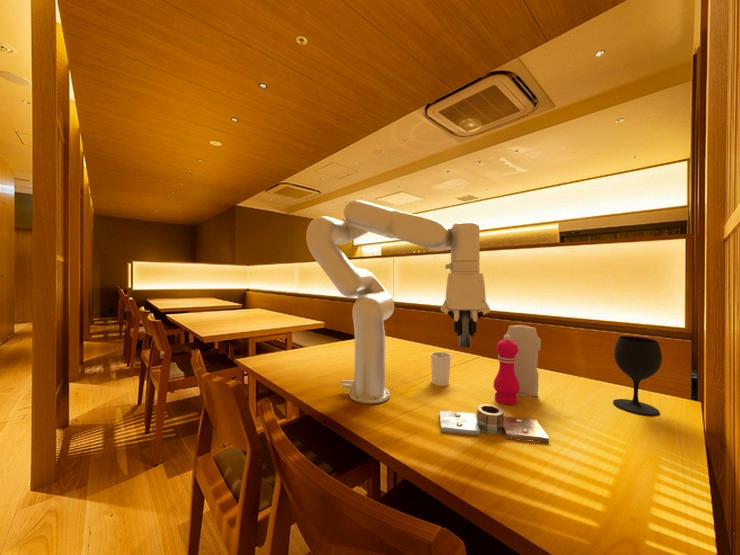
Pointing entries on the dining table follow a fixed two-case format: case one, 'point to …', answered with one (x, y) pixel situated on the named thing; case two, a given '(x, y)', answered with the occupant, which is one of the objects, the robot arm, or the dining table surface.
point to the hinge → (491, 424)
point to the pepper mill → (506, 373)
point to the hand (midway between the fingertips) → (465, 334)
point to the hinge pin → (465, 328)
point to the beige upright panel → (526, 358)
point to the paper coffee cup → (440, 368)
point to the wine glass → (637, 369)
